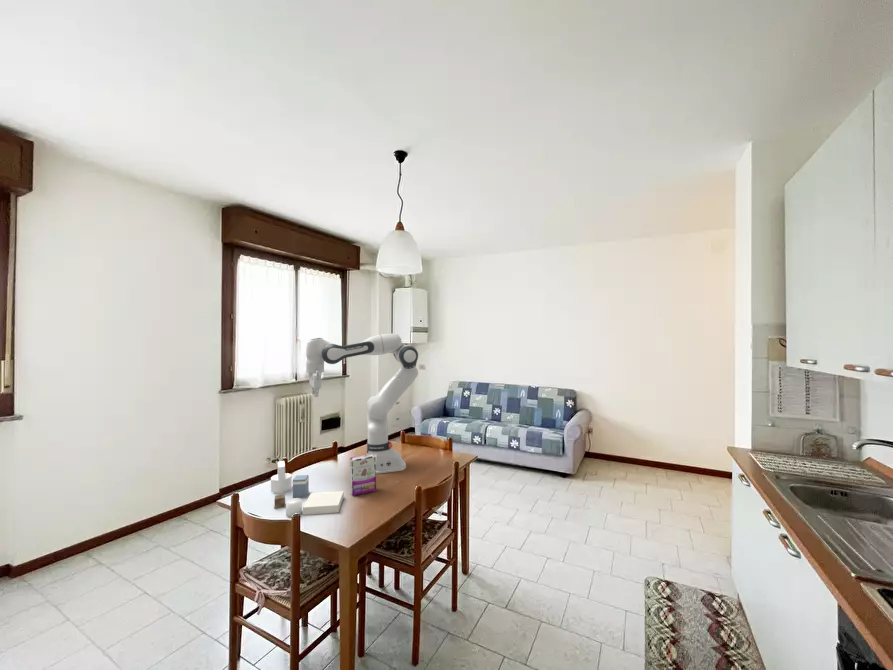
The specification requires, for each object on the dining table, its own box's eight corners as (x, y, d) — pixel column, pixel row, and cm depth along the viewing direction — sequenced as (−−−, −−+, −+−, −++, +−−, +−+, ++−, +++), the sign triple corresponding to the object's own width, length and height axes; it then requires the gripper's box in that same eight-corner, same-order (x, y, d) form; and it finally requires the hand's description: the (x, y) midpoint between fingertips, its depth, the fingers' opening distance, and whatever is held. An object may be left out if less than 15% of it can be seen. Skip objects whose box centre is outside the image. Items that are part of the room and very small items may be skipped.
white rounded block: (303, 509, 152) (303, 497, 152) (299, 516, 146) (299, 504, 146) (288, 510, 151) (288, 498, 151) (284, 517, 145) (283, 505, 145)
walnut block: (285, 503, 158) (285, 494, 158) (284, 507, 155) (284, 497, 155) (275, 504, 157) (275, 495, 157) (274, 508, 153) (274, 499, 153)
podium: (343, 497, 163) (343, 490, 163) (338, 512, 149) (338, 505, 149) (311, 499, 161) (311, 492, 161) (302, 514, 147) (302, 507, 147)
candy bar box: (373, 487, 174) (373, 453, 174) (376, 491, 169) (376, 456, 169) (349, 492, 168) (349, 456, 169) (352, 496, 164) (351, 460, 164)
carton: (308, 492, 169) (308, 474, 170) (305, 497, 164) (305, 479, 164) (296, 492, 169) (296, 475, 169) (292, 498, 163) (292, 480, 163)
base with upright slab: (292, 490, 171) (292, 465, 171) (270, 494, 167) (270, 468, 167) (291, 484, 179) (290, 459, 179) (270, 487, 175) (270, 462, 175)
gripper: (324, 370, 182) (324, 397, 181) (319, 367, 200) (319, 392, 200) (311, 370, 179) (311, 398, 179) (306, 367, 197) (306, 393, 197)
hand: (315, 395), depth 189 cm, fingers open, 8 cm apart
